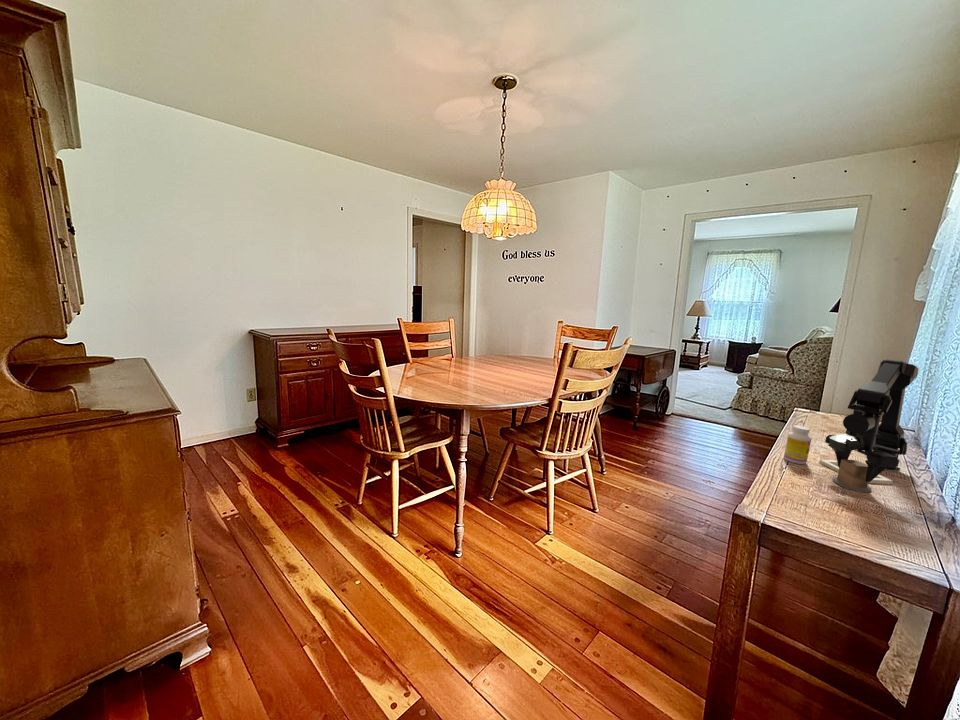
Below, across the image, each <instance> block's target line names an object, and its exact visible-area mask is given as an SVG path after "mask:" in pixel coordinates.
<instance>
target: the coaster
mask: <svg viewBox="0 0 960 720" xmlns="http://www.w3.org/2000/svg"><path fill="white" fill-rule="evenodd" d="M832 482H833V484H836V485H837V486H840V487H842V488H844V489H847V490H850V491H854V492H860V493H871V492H872V487H871V486H870V485H868V486H867V488H861V487H850V486H848V485H847V484H845V483H843V482H841V481H839V480H837V476H835V477H834V476H833V478H832Z"/></svg>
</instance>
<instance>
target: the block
mask: <svg viewBox="0 0 960 720" xmlns="http://www.w3.org/2000/svg"><path fill="white" fill-rule="evenodd" d="M867 468H868V465H867V464H866V463H865V462H862V461H860V460H857V459H848V460H845V459H841V463H840V467H839V472H837V476H836V477H837V480H839V481H841V482H843V483H845V484H847V485H848V486H850V487H861V488H867V486H869V483H868V482H866V473H867Z"/></svg>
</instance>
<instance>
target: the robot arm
mask: <svg viewBox="0 0 960 720" xmlns="http://www.w3.org/2000/svg"><path fill="white" fill-rule="evenodd" d="M879 363H880V364H879V366H878V369H877V372H876V374H875V376H874V377H873V378H872V379H871V380H870V382H867V383H863V384H861V386H859V387H858V389H856V390H855V391H854V392H853V395H852V397H851V399H850V401H849V404H848V405H847V409H849V410H853V413H851V414H848V415H847V416H845V417H844V419H843V420H842V425H843V427H844V429H846V430H845V432H844V433H840V434H828V435H827V436H826V437H825V440H824V441H825V442H824V443H825V444H827V445H828V447H830V448H831V449H832V450H833V451H834V455H835V458H836V461H837V462H838V465H837V466H838V467H840V463H841V459H845V460H849V458H850V456H851V453H852V452H853V451H855V452H857V453H859V454H862V455H865V456H866V459H865V460H864V463H865V464H866V465H868V468H867V473H866V482H871V481H872V480H873V479H874V478H875V477H876V476H878V475H881V473H883V472H884V471H886V470H896V471H897V470H901V468H900V467H899V465H900V458H899V456H900V455H901V456H902V455H904V456H907V455H906V454H907V452H908V442H907V438H905V430H904V429H903V427H902V426H901V425H900V422H901V416H902V411H903V404H904V399H905V398H904V397H905V393H906V388H907V387H909V386H910V385H911V384H912V383H913V382H914V381H915V379H917V377H918V375H919V367H918V366H916V365H915V364H912V363H907V362H906V361H903V360H898V359H897V360H896V359H889V358H888V359H883V360H881V361H880V362H879Z"/></svg>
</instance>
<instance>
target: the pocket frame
mask: <svg viewBox="0 0 960 720" xmlns="http://www.w3.org/2000/svg"><path fill="white" fill-rule="evenodd" d="M819 464H821V465H823V466H825V467H827V468H828V469H831V470H832V471H835V472H837V473H838V472H839V467H838V462H837V459H836V460H833V459H832V460H831V459H819ZM868 484H878V485H879V484H881V485H893V480H892V479H890V478H888V477H886V476H884V475H882V474H879V475H878V476H876V477H875V478H874V479H873V480H872V481H871V482H868Z"/></svg>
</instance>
